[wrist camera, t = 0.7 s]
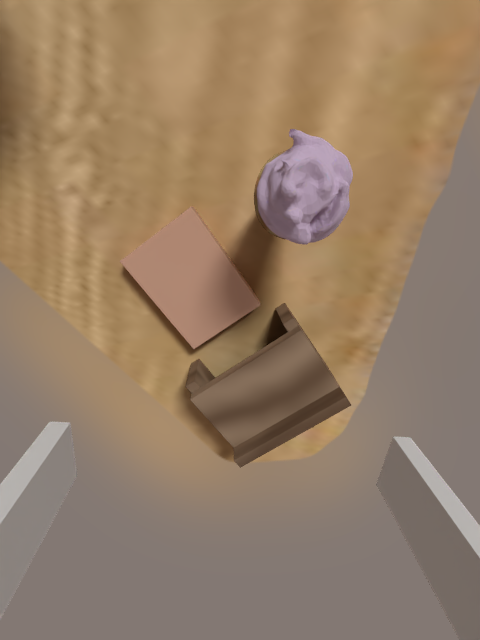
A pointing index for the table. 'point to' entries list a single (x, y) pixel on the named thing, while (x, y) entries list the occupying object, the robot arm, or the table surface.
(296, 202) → the ice cream cone
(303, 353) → the brown channel bracket
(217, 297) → the pinkish brown block
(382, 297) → the table surface
